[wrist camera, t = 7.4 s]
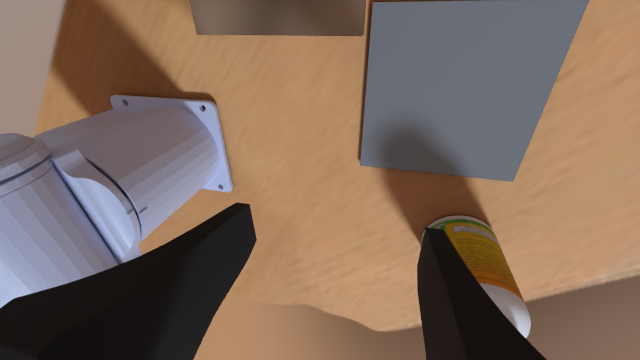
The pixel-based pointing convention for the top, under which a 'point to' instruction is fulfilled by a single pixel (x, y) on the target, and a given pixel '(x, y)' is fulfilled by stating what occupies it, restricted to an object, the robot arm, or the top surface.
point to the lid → (279, 17)
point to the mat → (461, 82)
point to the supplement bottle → (486, 265)
